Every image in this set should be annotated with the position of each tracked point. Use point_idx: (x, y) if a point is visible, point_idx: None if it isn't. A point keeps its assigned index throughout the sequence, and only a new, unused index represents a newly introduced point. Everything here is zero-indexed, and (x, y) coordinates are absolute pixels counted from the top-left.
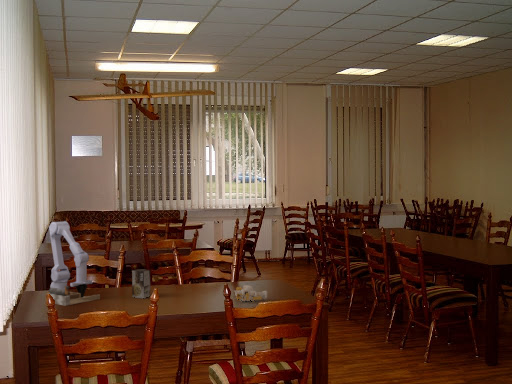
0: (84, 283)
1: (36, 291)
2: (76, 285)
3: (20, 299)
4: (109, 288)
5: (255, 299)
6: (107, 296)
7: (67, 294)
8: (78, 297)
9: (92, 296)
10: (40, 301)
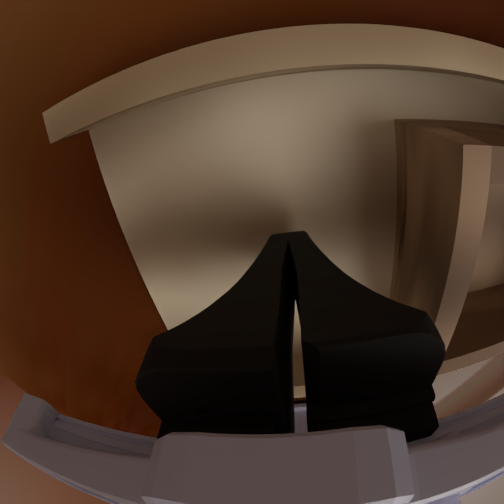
0: (404, 439)
1: None
2: (473, 415)
3: None
4: (19, 382)
5: None
6: (5, 235)
7: (463, 332)
8: (464, 130)
9: (197, 47)
10: (489, 365)
